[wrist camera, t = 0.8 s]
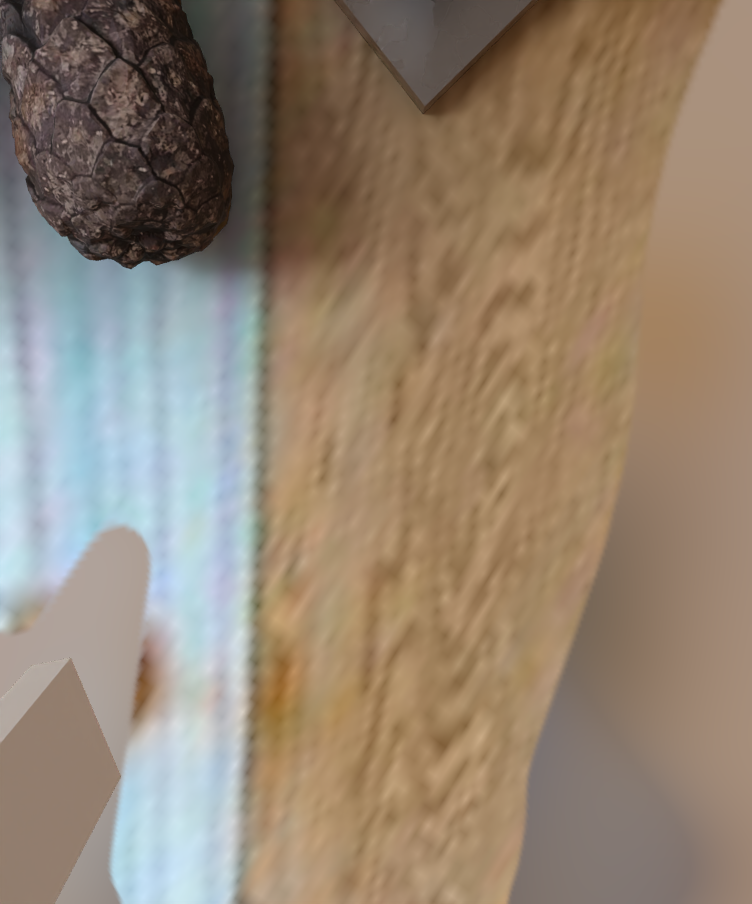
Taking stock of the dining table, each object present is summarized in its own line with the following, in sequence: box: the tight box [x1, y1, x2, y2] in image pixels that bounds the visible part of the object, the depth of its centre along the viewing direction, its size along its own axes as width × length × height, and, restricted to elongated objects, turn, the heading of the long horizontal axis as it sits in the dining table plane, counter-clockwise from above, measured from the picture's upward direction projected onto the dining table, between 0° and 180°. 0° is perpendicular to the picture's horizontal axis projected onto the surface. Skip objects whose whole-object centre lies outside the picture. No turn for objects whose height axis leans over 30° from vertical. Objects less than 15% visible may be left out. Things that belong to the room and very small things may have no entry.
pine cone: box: [0, 0, 234, 269], centre depth 28 cm, size 10×18×10 cm, turn 18°
